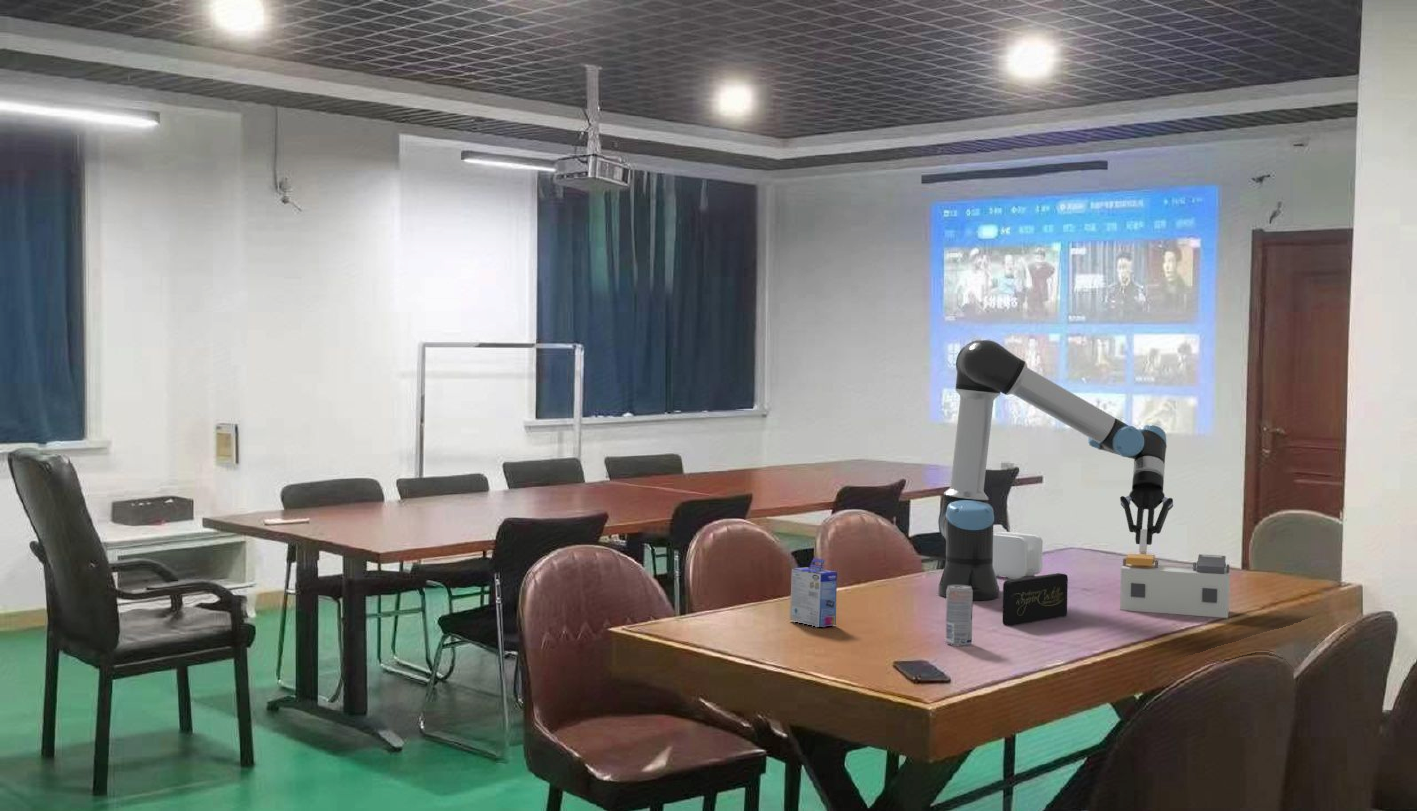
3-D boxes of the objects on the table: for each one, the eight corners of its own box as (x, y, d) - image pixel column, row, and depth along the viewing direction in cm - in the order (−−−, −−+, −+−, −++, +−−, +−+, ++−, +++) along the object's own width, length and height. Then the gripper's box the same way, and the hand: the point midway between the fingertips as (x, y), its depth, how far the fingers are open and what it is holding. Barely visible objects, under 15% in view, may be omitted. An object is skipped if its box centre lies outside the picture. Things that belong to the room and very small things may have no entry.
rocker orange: (1128, 559, 332) (1128, 552, 332) (1155, 561, 330) (1156, 554, 330) (1125, 563, 325) (1125, 556, 325) (1153, 565, 322) (1153, 558, 322)
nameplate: (1009, 626, 303) (1009, 582, 302) (1002, 625, 304) (1003, 580, 304) (1067, 616, 316) (1067, 573, 315) (1060, 615, 317) (1061, 572, 317)
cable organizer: (976, 574, 377) (976, 532, 377) (996, 570, 385) (997, 529, 385) (1023, 581, 367) (1024, 538, 367) (1043, 576, 375) (1044, 534, 374)
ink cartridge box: (837, 626, 300) (838, 561, 300) (819, 629, 297) (820, 563, 296) (806, 619, 308) (807, 555, 308) (789, 622, 304) (789, 557, 304)
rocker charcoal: (1197, 560, 326) (1197, 553, 326) (1226, 562, 323) (1226, 555, 323) (1195, 571, 319) (1195, 565, 318) (1225, 573, 316) (1225, 566, 316)
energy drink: (968, 641, 285) (969, 584, 285) (974, 646, 280) (975, 588, 280) (943, 641, 285) (944, 584, 285) (948, 646, 280) (949, 588, 280)
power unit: (1124, 603, 334) (1125, 555, 333) (1228, 610, 324) (1230, 562, 324) (1120, 609, 324) (1121, 561, 324) (1227, 618, 315) (1228, 568, 314)
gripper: (1175, 488, 346) (1171, 564, 331) (1122, 486, 351) (1115, 561, 336) (1174, 469, 340) (1170, 546, 326) (1120, 468, 345) (1113, 543, 331)
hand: (1142, 553), depth 331 cm, fingers closed
